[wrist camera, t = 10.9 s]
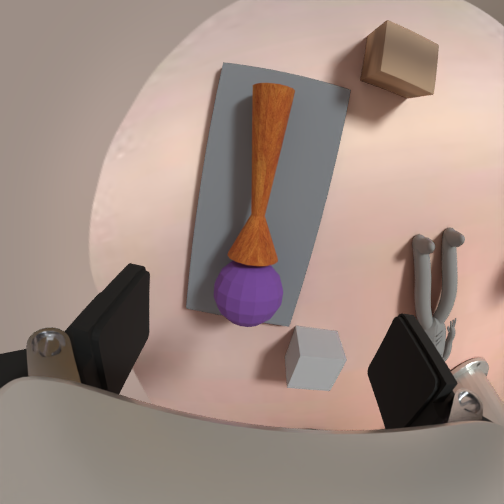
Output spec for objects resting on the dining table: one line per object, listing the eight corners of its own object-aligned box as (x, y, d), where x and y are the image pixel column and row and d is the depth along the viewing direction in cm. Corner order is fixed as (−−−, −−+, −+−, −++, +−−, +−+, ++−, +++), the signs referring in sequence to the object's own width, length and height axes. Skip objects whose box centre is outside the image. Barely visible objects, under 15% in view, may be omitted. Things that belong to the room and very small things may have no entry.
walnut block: (406, 98, 22) (433, 94, 17) (359, 80, 21) (380, 70, 17) (412, 55, 20) (438, 45, 15) (367, 36, 19) (387, 20, 15)
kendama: (324, 89, 18) (284, 339, 24) (298, 101, 23) (269, 305, 29) (240, 73, 16) (213, 339, 23) (231, 90, 22) (210, 303, 28)
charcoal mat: (288, 321, 31) (289, 326, 30) (188, 303, 30) (186, 308, 30) (347, 91, 22) (350, 89, 21) (224, 65, 21) (223, 62, 20)
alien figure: (479, 234, 22) (447, 396, 31) (454, 221, 27) (435, 375, 35) (418, 249, 23) (400, 414, 32) (397, 233, 28) (391, 391, 36)
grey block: (323, 361, 33) (330, 390, 29) (284, 356, 33) (287, 387, 29) (337, 330, 32) (346, 359, 27) (295, 325, 31) (300, 355, 27)
